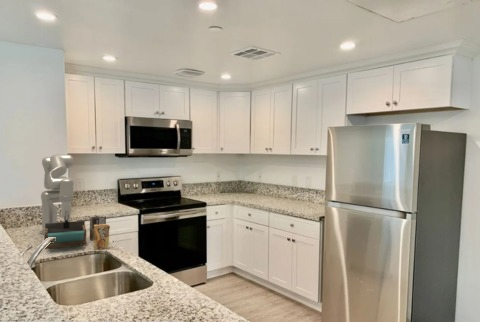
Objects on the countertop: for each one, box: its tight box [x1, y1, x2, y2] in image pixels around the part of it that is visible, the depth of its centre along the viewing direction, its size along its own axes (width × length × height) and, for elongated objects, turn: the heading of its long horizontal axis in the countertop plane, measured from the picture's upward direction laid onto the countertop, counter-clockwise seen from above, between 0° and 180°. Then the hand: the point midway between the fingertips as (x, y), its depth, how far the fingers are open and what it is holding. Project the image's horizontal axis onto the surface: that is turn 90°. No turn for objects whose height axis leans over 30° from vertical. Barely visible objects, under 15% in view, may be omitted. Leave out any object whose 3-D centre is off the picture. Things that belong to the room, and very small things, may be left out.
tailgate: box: [48, 231, 84, 243], centre depth 213 cm, size 1×20×14 cm
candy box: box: [93, 223, 110, 250], centre depth 216 cm, size 9×4×15 cm, turn 116°
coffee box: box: [89, 215, 107, 241], centre depth 235 cm, size 9×6×16 cm
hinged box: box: [43, 220, 87, 250], centre depth 225 cm, size 16×24×13 cm, turn 118°
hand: (66, 228), depth 210 cm, fingers closed
